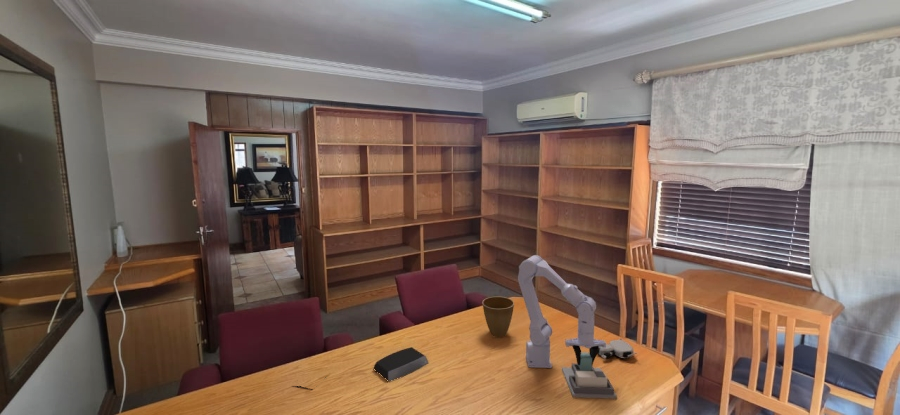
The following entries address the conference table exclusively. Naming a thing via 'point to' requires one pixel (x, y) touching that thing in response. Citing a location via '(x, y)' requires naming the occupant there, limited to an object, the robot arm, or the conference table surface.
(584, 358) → the teal block
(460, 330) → the conference table surface
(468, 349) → the conference table surface
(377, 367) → the external hard drive
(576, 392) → the jig
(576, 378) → the beige rectangular block
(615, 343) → the robot toy
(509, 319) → the plant pot
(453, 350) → the conference table surface
